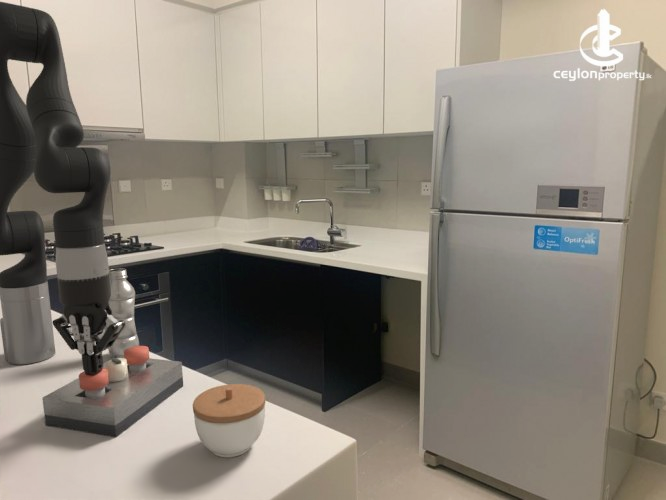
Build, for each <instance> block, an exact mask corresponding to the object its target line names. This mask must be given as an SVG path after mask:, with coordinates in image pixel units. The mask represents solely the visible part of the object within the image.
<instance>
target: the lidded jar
mask: <svg viewBox="0 0 666 500" xmlns="http://www.w3.org/2000/svg"><path fill="white" fill-rule="evenodd" d="M265 407H266V395H265V393H264V392H263V390H261V389H260V388H259V387H257V386H253V385H250V384H244V383H230V384H229V383H228V384H222V385H218V386H214V387H211V388H209V389H207V390H205V391H203V392H201V393H199V394H198V395H197V396H196V397H195V398H194V400H193V402H192V410H193V411H192V412H193V416H194V425H195V431H196V434H197V436H198V438H199V440H200V441H201V444H203V446H205V448H207V450H209V451H211V453H212V454H213V455H215V456H217V457H220V458H235V457H236V458H237V457H239V456H241V455H243V454H246V453H247V452H248V451H249V450H250V449H251V448H252V446H253V445H254V444H255V443H256V441H258V439H259V437H260V436H261V434H262V432H263V427H264V423H265V417H266V408H265Z"/></svg>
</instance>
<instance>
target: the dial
mask: <svg viewBox="0 0 666 500" xmlns="http://www.w3.org/2000/svg"><path fill="white" fill-rule="evenodd" d="M104 364H105V369H107V370H108V379H109V382H116V381H121V380H124V379H126V378H127V377H128V368H127V360H126V359H125V358H116V357H111V359H110V360H107V361H106V362H104Z"/></svg>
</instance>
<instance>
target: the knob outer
mask: <svg viewBox="0 0 666 500" xmlns="http://www.w3.org/2000/svg"><path fill="white" fill-rule="evenodd" d="M78 378H79V384H80V389H82V390H85V396H86V398H91V399H98V398H99V397H101V396H103V395H104V394H105V386H106V385H107V384H108V383H109V379H108V370H107V369H105V368H103V369H102V371H101V372H100V373H98V374H96V375H94V376H91V375H86V374H85V371H84V370H83V371H82V372H80V373H79V374H78Z"/></svg>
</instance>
